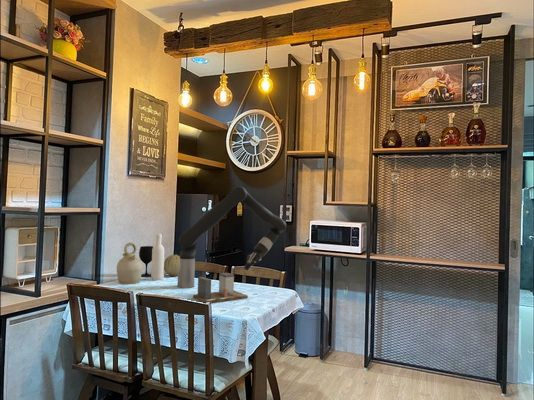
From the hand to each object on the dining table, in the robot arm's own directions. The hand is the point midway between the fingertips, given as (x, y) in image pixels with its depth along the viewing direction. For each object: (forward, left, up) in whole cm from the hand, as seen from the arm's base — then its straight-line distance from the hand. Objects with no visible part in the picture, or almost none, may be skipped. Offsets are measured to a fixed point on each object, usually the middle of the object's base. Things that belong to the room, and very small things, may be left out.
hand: (245, 269), depth 226 cm
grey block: (-6, -11, -13) cm, 18 cm away
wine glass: (-82, +25, -15) cm, 87 cm away
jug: (-78, +1, -15) cm, 79 cm away
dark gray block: (-15, -21, -13) cm, 29 cm away
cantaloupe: (-65, +33, -15) cm, 74 cm away
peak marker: (-5, -16, -13) cm, 21 cm away
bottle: (-68, +17, -15) cm, 71 cm away
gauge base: (-9, -13, -14) cm, 22 cm away
